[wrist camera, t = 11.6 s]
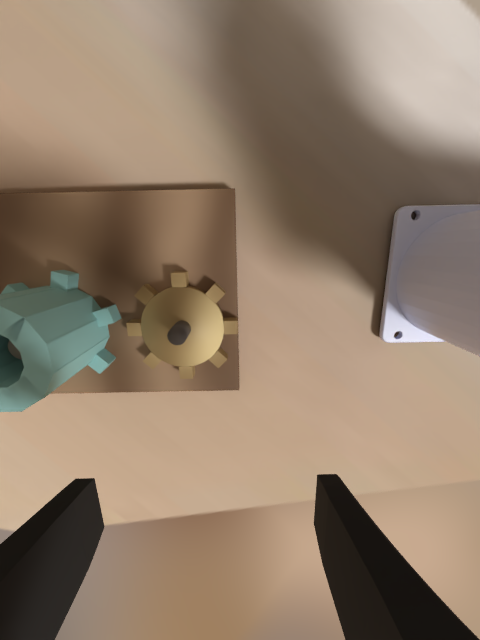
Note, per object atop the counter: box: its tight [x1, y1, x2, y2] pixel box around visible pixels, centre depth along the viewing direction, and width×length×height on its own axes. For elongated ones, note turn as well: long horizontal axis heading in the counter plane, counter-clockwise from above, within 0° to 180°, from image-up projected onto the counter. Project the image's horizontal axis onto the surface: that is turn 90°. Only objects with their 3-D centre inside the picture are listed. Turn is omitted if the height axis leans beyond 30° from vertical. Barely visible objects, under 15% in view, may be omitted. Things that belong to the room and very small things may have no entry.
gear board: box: [0, 189, 239, 394], centre depth 14 cm, size 14×12×4 cm
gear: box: [0, 270, 121, 412], centre depth 13 cm, size 7×7×5 cm
